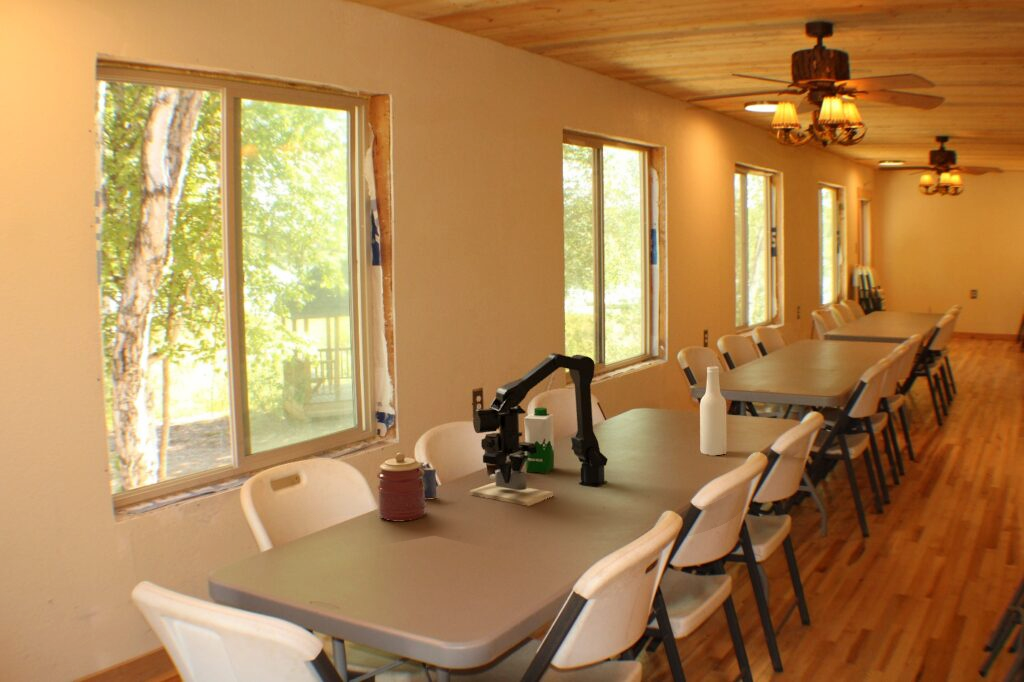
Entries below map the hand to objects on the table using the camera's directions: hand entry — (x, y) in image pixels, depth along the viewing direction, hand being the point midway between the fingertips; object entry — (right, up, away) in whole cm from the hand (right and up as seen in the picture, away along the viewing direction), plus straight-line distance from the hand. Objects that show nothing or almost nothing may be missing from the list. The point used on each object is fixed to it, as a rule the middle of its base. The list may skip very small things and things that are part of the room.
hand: (510, 481), depth 275 cm
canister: (-30, -7, -16) cm, 35 cm away
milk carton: (+9, -1, +30) cm, 31 cm away
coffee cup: (-4, -2, +27) cm, 27 cm away
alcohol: (+69, +2, +46) cm, 83 cm away
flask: (-26, -5, +1) cm, 27 cm away
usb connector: (0, -2, 0) cm, 2 cm away
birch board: (0, -4, 0) cm, 4 cm away
